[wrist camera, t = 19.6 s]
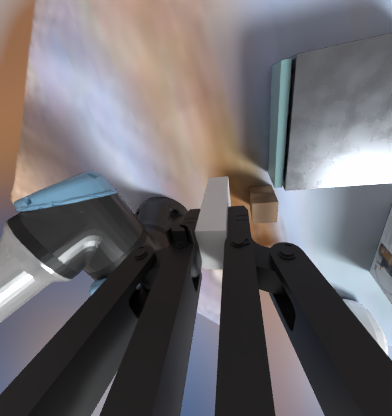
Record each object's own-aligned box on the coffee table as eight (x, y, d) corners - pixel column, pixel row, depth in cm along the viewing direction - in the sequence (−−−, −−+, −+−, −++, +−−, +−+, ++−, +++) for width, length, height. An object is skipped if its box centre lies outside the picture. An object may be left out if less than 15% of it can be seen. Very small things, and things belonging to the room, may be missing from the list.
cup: (369, 315, 56) (403, 371, 45) (320, 320, 61) (340, 372, 50) (361, 289, 51) (398, 345, 40) (309, 297, 56) (328, 349, 45)
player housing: (275, 172, 38) (285, 190, 31) (281, 62, 28) (297, 54, 22) (369, 164, 34) (402, 182, 27) (410, 34, 25) (475, 13, 18)
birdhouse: (268, 173, 38) (274, 187, 32) (271, 65, 29) (281, 60, 23) (357, 164, 34) (382, 179, 28) (393, 39, 25) (440, 25, 19)
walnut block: (249, 204, 42) (252, 223, 37) (249, 187, 40) (252, 203, 34) (270, 203, 41) (276, 222, 36) (271, 185, 39) (278, 202, 33)
